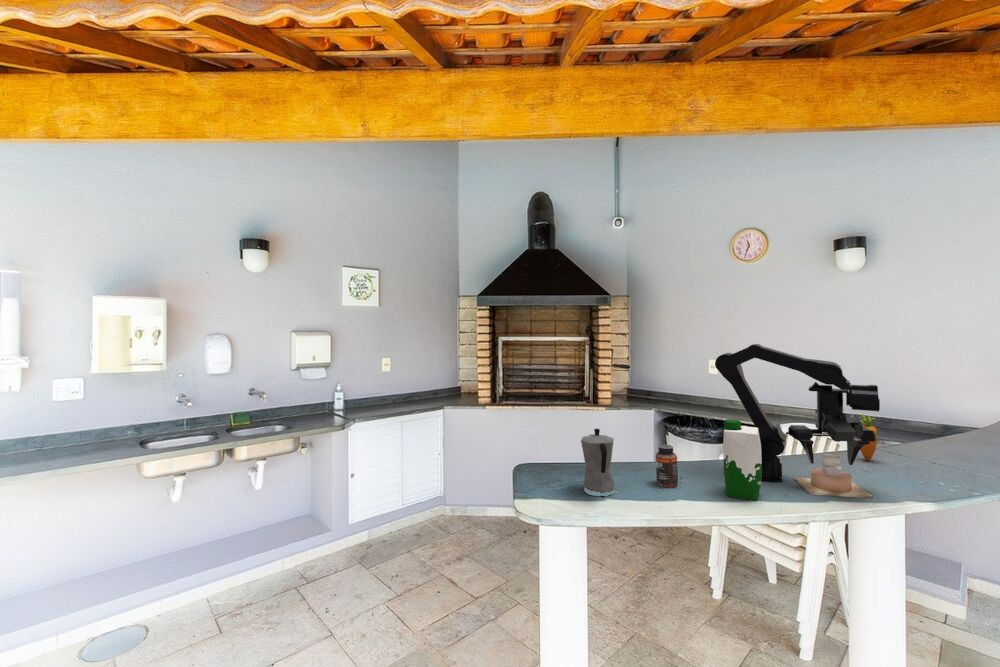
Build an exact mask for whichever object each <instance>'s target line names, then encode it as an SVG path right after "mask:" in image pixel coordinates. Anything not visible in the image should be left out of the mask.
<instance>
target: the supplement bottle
mask: <svg viewBox="0 0 1000 667" xmlns="http://www.w3.org/2000/svg"><path fill="white" fill-rule="evenodd" d="M678 474H679V473H678V456H677V453H674V446H673V445H671V444H659V445H658V452H656V454H655V475H656V476H655V477H656V484H657V483H658V484H660V485H662V486H661V487H663V486H666V487H665V488H675V487H677V486H678V484H679V475H678ZM658 484H657V485H658ZM660 485H659V486H660Z"/></svg>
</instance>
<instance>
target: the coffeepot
mask: <svg viewBox="0 0 1000 667" xmlns="http://www.w3.org/2000/svg"><path fill="white" fill-rule="evenodd" d="M593 430H594V433H593V434H589V435H584V436H582V437H581V439H580V442H581V448H582V454H583V458H584V463H585V464H586V465H585V466H586V468H585V471H584V479H583V486H584V487H585V488H587V489H588V490H590V491H595V492H600V493H605V492H611V491H613V490H614V487H616V486H615V482H614V478H613V477H614V476H613V472H612V468H611V464H612V463H611V462H612V458H613V457H612V456H613V449H614V447H613V446H614V440H615V439H614V438H613V437H611V436H609V435H605V434H604V435H603V434H600V432H601V430H600V428H594V429H593Z"/></svg>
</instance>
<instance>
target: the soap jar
mask: <svg viewBox="0 0 1000 667" xmlns="http://www.w3.org/2000/svg"><path fill="white" fill-rule="evenodd" d="M810 478H811V484H812V485H813V486H814V487H816V488H819V489H822V490H825V491H830V492H838V493H845V492H850V491H851V490H852V482H853V479H852V478H853V477H852V475H851V474H850V473H848V472H846V471H842V470H841V469H836V468H835V467H833V466H827V465H824V464H822V463H821V467H816V468H815V467H814V468H811V470H810Z"/></svg>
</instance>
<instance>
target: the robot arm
mask: <svg viewBox="0 0 1000 667" xmlns="http://www.w3.org/2000/svg"><path fill="white" fill-rule="evenodd" d="M753 359H759V360H761V361H763V362H764V361H765V362H767V363H772V364H775V365H777V366H781V367H785V368H787V369H791V370H794V371H798V372H800V373H802V374H804V375H806V376H808V377H810V378H812V380H813V379H814V380H816V381H814V383H813V384H812V385H811V386H809V387H808V391H809V392H816V408H815V409H814V412H815V414H816V415H817V416H816V418H817V421H816V422H817V423H815V428H810V427H808V426H806V425H804V424H802V425H800V424H799V425H797V424H794V425H793V424H791V425H790V426H788V429H787V432H788V435H789V436H790V437H792V438H793V439H794V440H797V441H798V442H799V443H800V444H801V446H802V448H803V450H804V452H805V454H806V457H807V459H808V461H809V463H810V464H814V458H815V457H814V448H813V445H814V442H815V441H814V440H812V438H813V437H830V439H831V440H832V441H834V442H837V443H840V442H846V448H847V449H846V450H847V462H848V465H849V466H853V464H854V462H855V460H856V458H857V456H858V454H859V452H860V451H861V450H860V449H861V448H862V447H863V446H865V445H869V444H870V442H876V434H875V432H874V431H872V430H870V429H868V428H866V427H863V425H864V424H863V423H862V422H861V421H860V422H859V421H858V422H854V421H853V422H848V421H847V415H846V413H845V412H844V394H845V404H846V406H849V407H850V408H851V410H855V411H868V412H880V408H881V407H880V406H881V405H880V404H881V403H880V398H879V397H880V396H879V389H878V388H879V386H878V385H877V384H868V385H867V384H866V385H865V384H864V385H863V384H852V383H851V382H850V380H848V379H847V378H846V377H845V376H844V374H843V369H842V367H841V365H839V364H838V363H836V362H834V361H830V360H821V359H814V358H813V359H812V358H811V359H810V358H805V357H801V356H798V355H794V354H790V353H788V352H784V351H780V350H777V349H774V348H770V347H766V346H763V345H761V344H758V343H753V344H751V345H749V346H748V347H746V348H743V349H741V350H739V351H736V352H733V353H732V352H725V353H722V354H720V355H719V356H718V357H716V359H715V362H714V365H715V369H717V371H718V372H719V373H720V374H721V376H722V377H723V378H724V379H725V380H726V381H727V382H728V383H729V384H730V385H731V387H732V388H733V390H734V391H735V394H736V395H737V397H738V398H739V401H740V402H741V404H742V406H743V408H744V409H745V411H746V412H747V415H748V416H749V418H750V420H751V421H752V424H753V425H754V427H756V428H758V431H759V437H760V443H761V457H762V478H761V481H768V482H783V479H782V477H783V464H782V462H781V459H780V458H779V457H778V456H780V455H782V454H784V451H785V448H786V445H787V437H788V436H787V434H785V433H784V431H783V429H782V427H781V424H780V423H777V424H774V423H773V422H771V421H770V419H769V417H768V416H767V414H766V412H765V411H764V409H763V407H762V406H761V404H760V402H759V400H758V399H757V397H756V395H755V394H754V392H753V390H752V388H751V386H750V384H749V383H748V382H747V381H748V380H746V377H745V374H744V370H743V367H742V366H743V365H742V364H744V363H745V362H749V361H750V360H753ZM817 381H818V382H819V383H822V384H819V383H818V382H817ZM833 386H834V387H837V388H833Z"/></svg>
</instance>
